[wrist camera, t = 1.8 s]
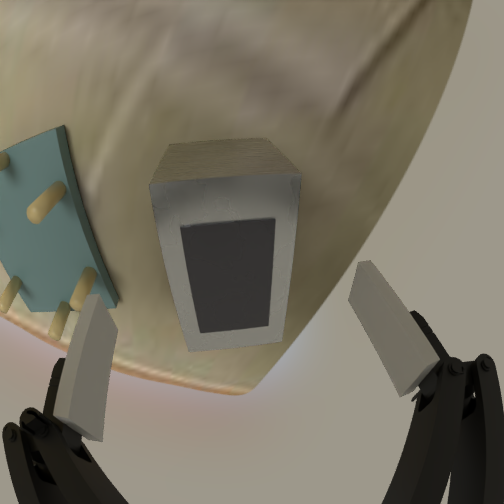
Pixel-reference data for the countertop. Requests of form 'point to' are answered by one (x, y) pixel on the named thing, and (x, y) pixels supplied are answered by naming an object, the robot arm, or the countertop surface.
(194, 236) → the grey box
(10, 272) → the pegboard
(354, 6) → the countertop surface
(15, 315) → the countertop surface
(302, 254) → the countertop surface
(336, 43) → the countertop surface
